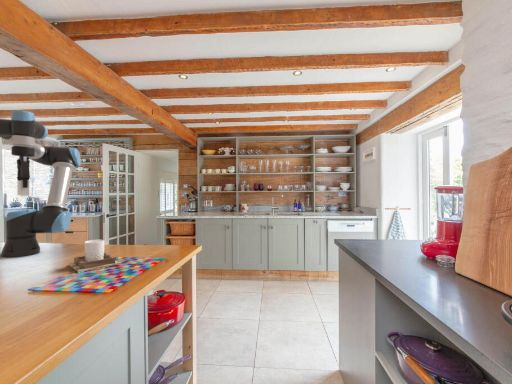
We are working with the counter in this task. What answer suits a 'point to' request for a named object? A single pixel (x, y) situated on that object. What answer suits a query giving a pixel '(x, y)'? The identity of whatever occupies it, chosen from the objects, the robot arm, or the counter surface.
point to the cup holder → (93, 263)
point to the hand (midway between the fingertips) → (23, 195)
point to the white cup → (94, 250)
